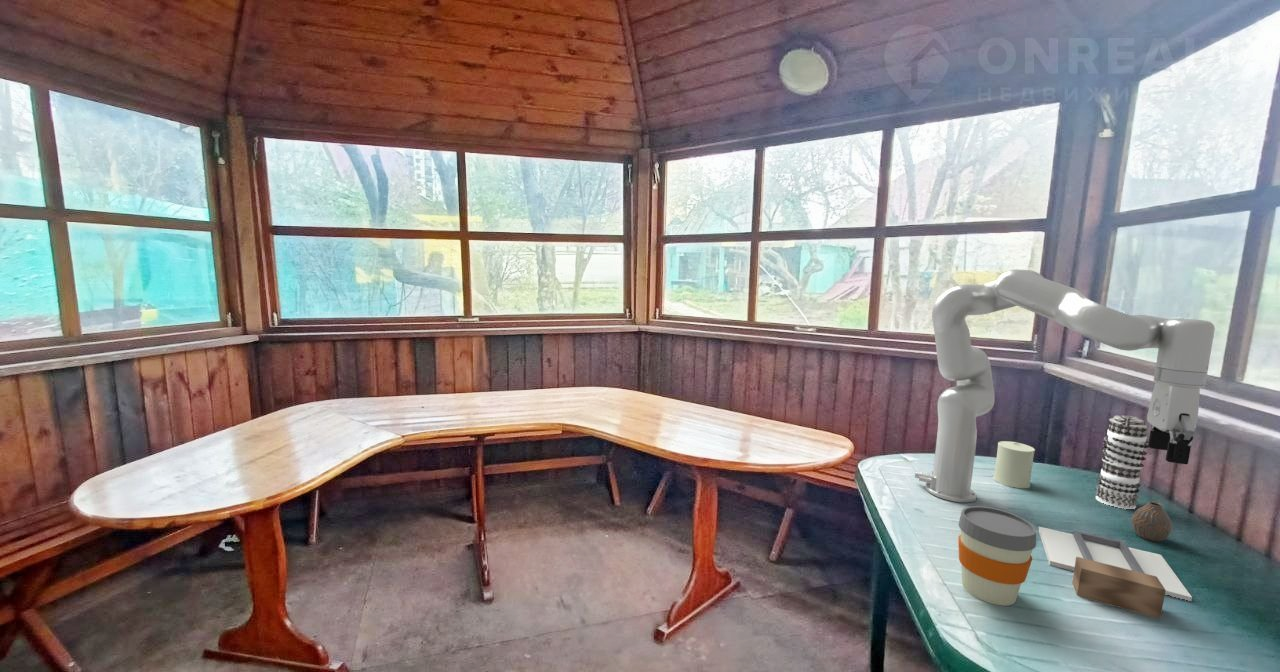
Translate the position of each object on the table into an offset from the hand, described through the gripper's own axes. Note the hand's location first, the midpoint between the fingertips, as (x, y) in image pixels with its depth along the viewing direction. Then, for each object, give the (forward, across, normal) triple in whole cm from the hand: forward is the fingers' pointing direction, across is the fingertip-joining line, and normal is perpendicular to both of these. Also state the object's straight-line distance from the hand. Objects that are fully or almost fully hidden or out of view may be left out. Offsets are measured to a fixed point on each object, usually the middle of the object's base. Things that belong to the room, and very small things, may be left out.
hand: (1166, 455), depth 109 cm
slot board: (+25, +3, -8) cm, 27 cm away
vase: (+26, -17, +5) cm, 31 cm away
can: (+25, -39, -20) cm, 51 cm away
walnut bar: (+26, +20, -11) cm, 34 cm away
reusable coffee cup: (+26, +30, -32) cm, 51 cm away
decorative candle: (+26, -38, +4) cm, 46 cm away
